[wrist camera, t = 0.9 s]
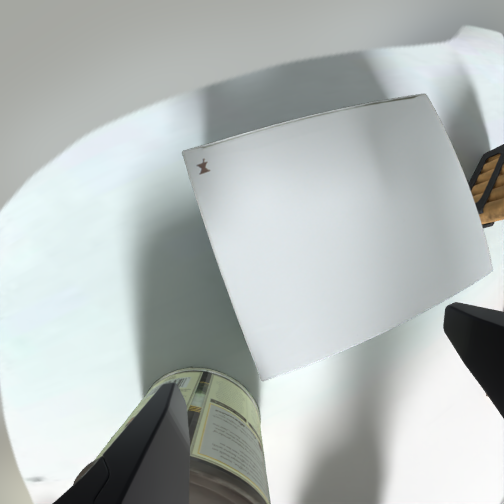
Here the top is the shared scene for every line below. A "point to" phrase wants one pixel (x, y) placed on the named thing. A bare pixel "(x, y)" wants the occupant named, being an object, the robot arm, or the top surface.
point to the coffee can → (216, 438)
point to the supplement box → (337, 227)
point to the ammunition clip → (489, 187)
